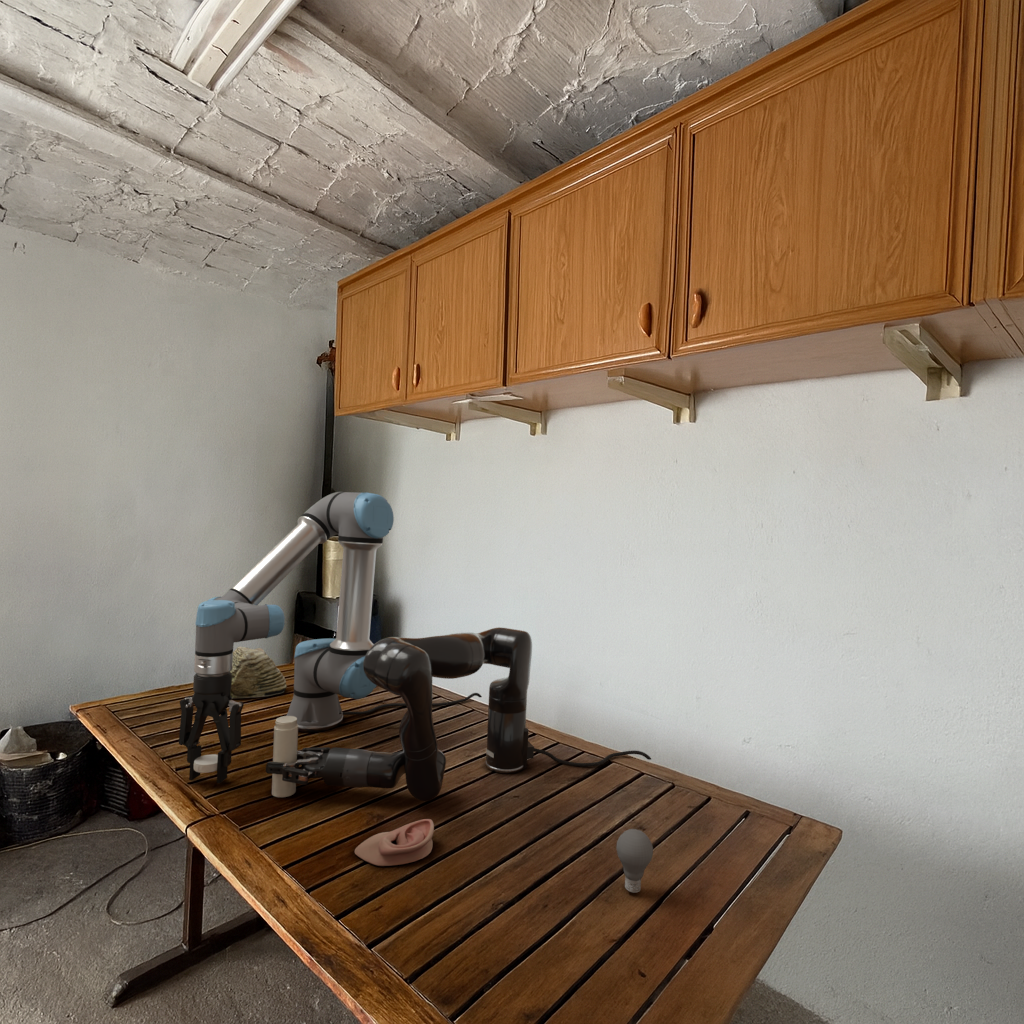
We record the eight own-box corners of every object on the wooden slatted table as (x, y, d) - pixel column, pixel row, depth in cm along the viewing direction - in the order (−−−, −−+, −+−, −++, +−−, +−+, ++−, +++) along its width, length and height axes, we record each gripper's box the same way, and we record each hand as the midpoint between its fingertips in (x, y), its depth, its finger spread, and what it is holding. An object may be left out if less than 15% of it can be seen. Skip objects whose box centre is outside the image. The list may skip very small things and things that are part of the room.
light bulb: (610, 879, 108) (613, 822, 108) (644, 879, 109) (647, 822, 109) (619, 902, 102) (622, 840, 102) (655, 901, 103) (658, 840, 103)
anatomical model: (347, 838, 110) (374, 807, 122) (346, 860, 111) (373, 828, 122) (419, 850, 108) (440, 817, 119) (418, 873, 108) (439, 838, 119)
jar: (267, 791, 135) (269, 718, 135) (288, 784, 139) (291, 713, 138) (278, 799, 132) (281, 725, 131) (300, 792, 135) (303, 719, 135)
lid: (222, 771, 136) (223, 763, 136) (192, 774, 134) (192, 766, 134) (223, 760, 141) (224, 752, 141) (194, 763, 139) (194, 755, 139)
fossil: (218, 695, 195) (220, 647, 195) (278, 685, 208) (279, 640, 207) (228, 703, 189) (230, 653, 188) (289, 692, 201) (290, 645, 201)
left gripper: (161, 673, 135) (156, 781, 135) (243, 680, 132) (238, 791, 133) (184, 664, 142) (179, 767, 142) (262, 671, 140) (257, 776, 140)
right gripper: (361, 737, 141) (287, 732, 142) (339, 764, 127) (257, 758, 128) (360, 770, 141) (286, 765, 142) (338, 801, 127) (256, 794, 128)
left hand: (208, 778), depth 137 cm, fingers closed on lid, 6 cm apart
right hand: (272, 762), depth 135 cm, fingers closed on jar, 5 cm apart
